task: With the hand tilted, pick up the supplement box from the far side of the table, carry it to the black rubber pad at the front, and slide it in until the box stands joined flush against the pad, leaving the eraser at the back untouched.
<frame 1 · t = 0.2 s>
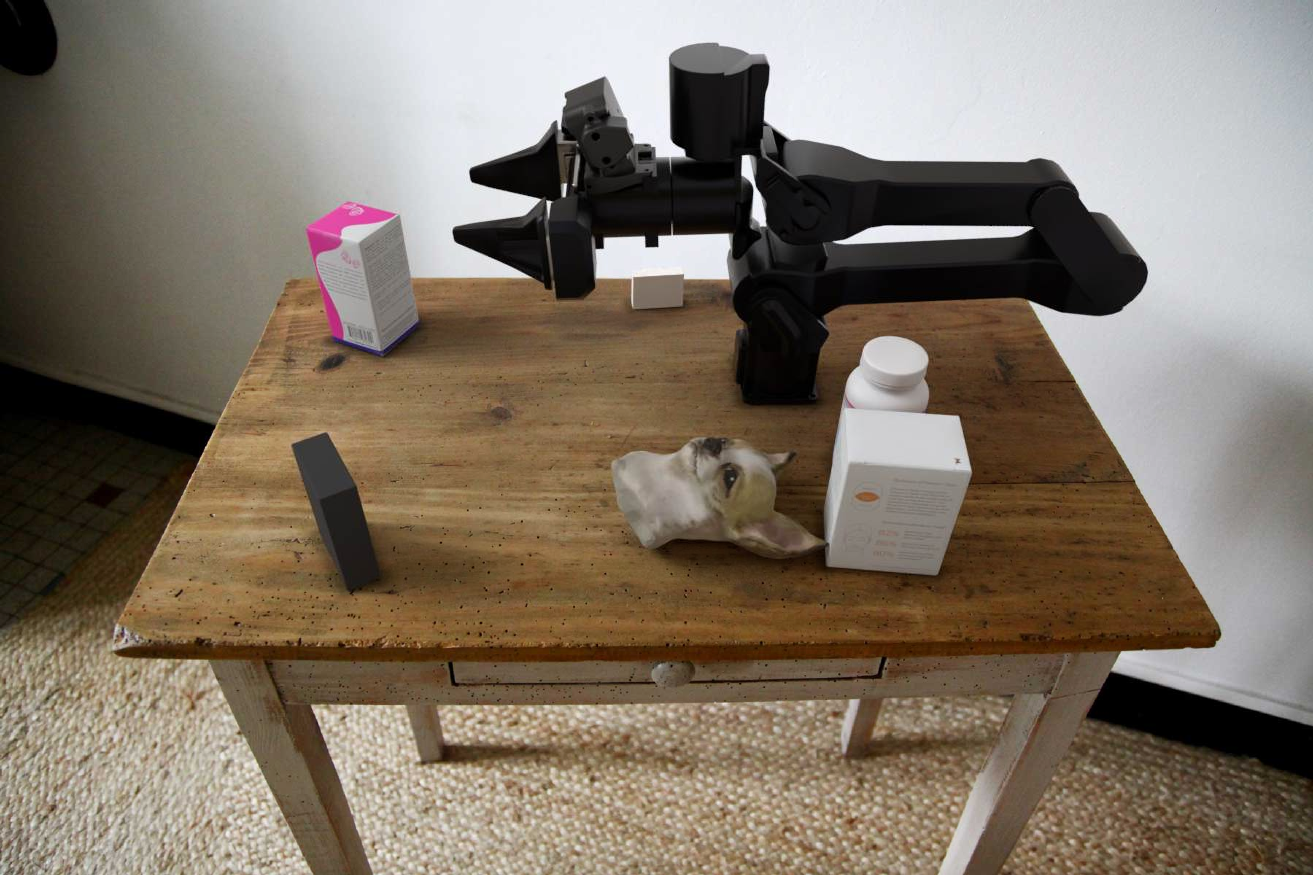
hand: (462, 203, 69), 17 cm above the table, tool horizontal, fingers open, 9 cm apart
pill bottle: (868, 469, 74), on the table
supplement box: (377, 334, 85), on the table
ceramic sculpture: (711, 527, 69), on the table
eraser: (656, 306, 90), on the table
black rubber pad: (350, 556, 65), on the table
small box: (877, 545, 68), on the table
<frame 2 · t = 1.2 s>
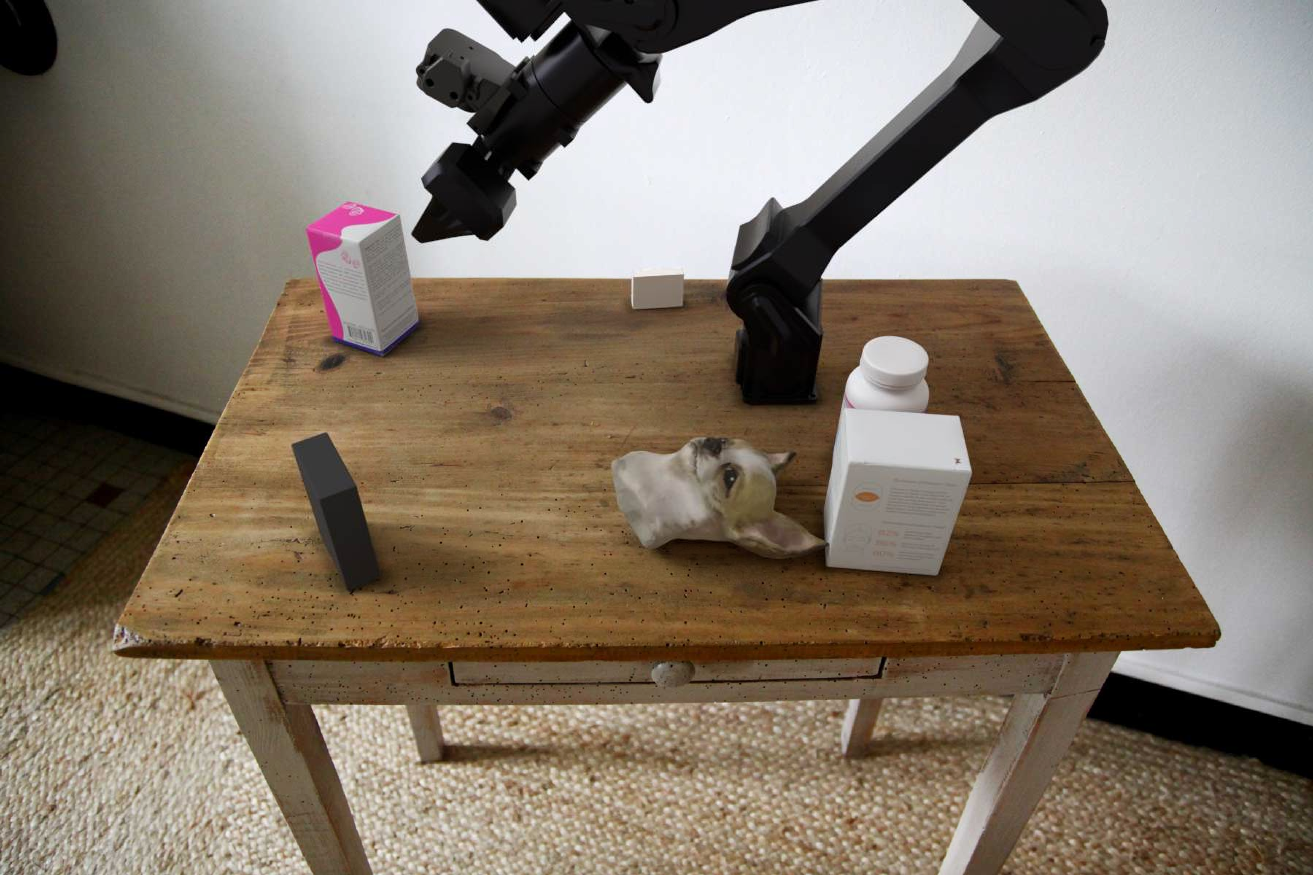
hand: (436, 210, 76), 13 cm above the table, tool tilted 45°, fingers open, 9 cm apart
nothing on the table moved.
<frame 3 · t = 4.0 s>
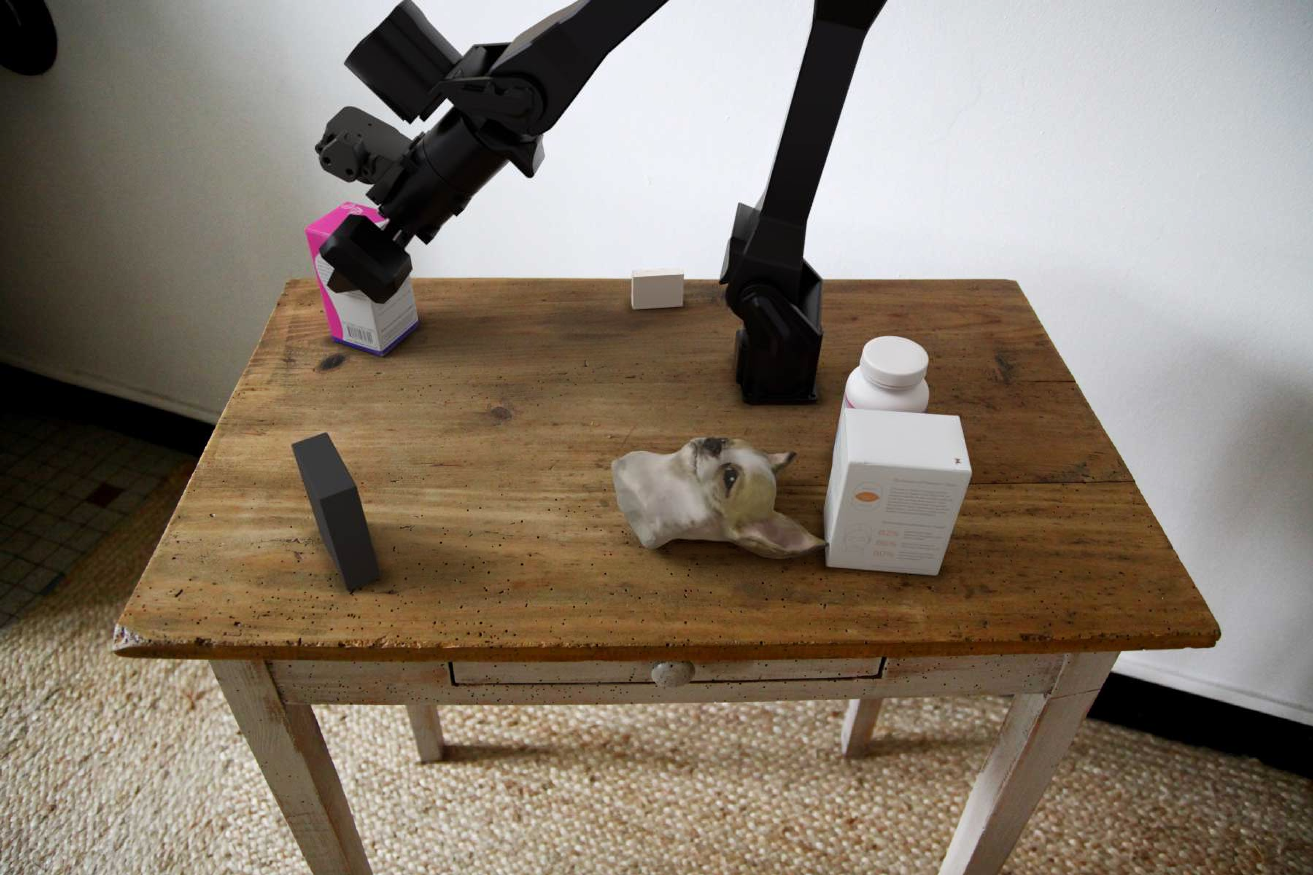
hand: (348, 267, 81), 7 cm above the table, tool tilted 45°, fingers closed on supplement box, 6 cm apart
supplement box: (377, 334, 85), on the table, touching gripper
everything else where it was.
when the fingers open (7 cm above the table, at t = 13.1 s): supplement box stays where it is, on the table.
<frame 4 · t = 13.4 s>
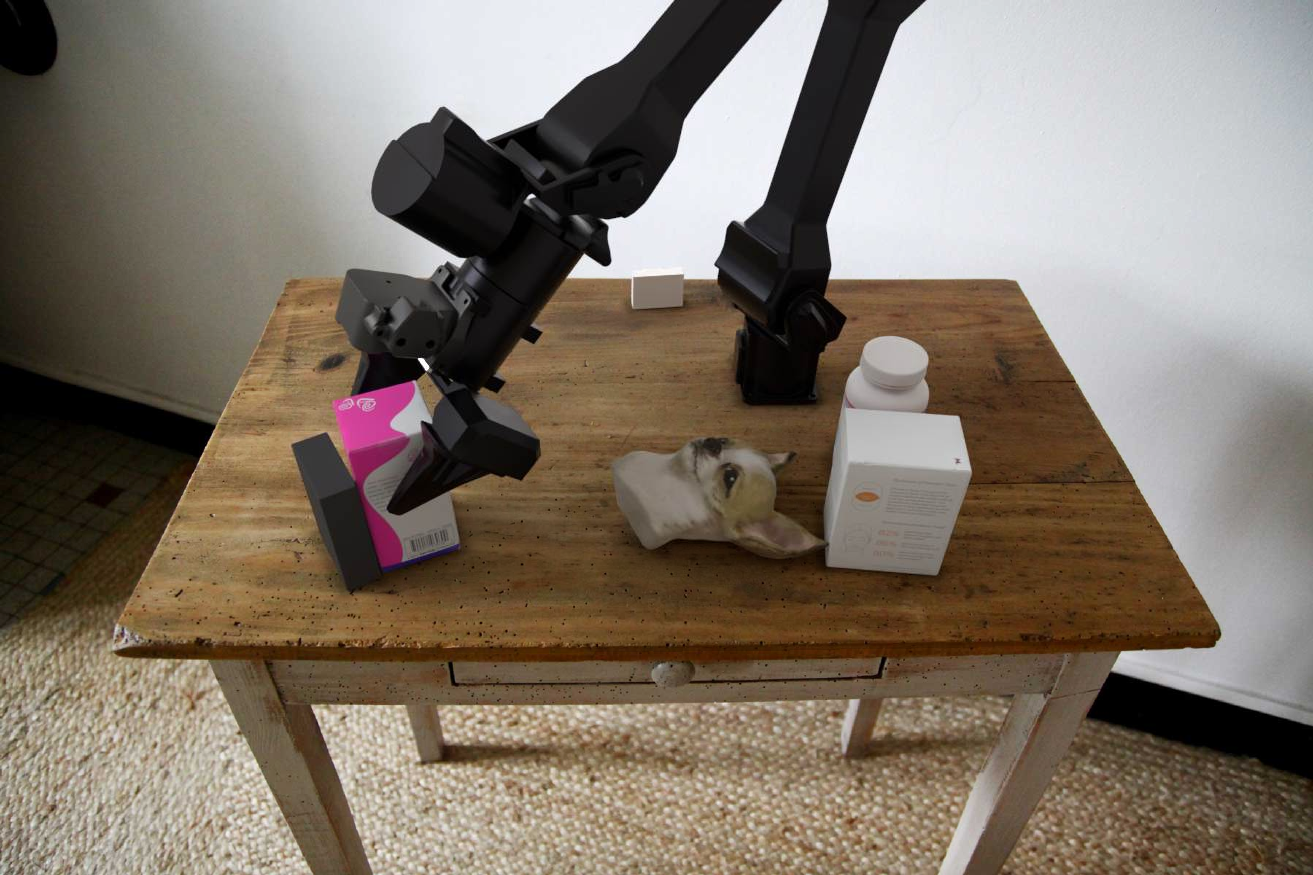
hand: (368, 471, 62), 7 cm above the table, tool tilted 45°, fingers open, 9 cm apart
supplement box: (412, 535, 67), on the table
everything else where it was.
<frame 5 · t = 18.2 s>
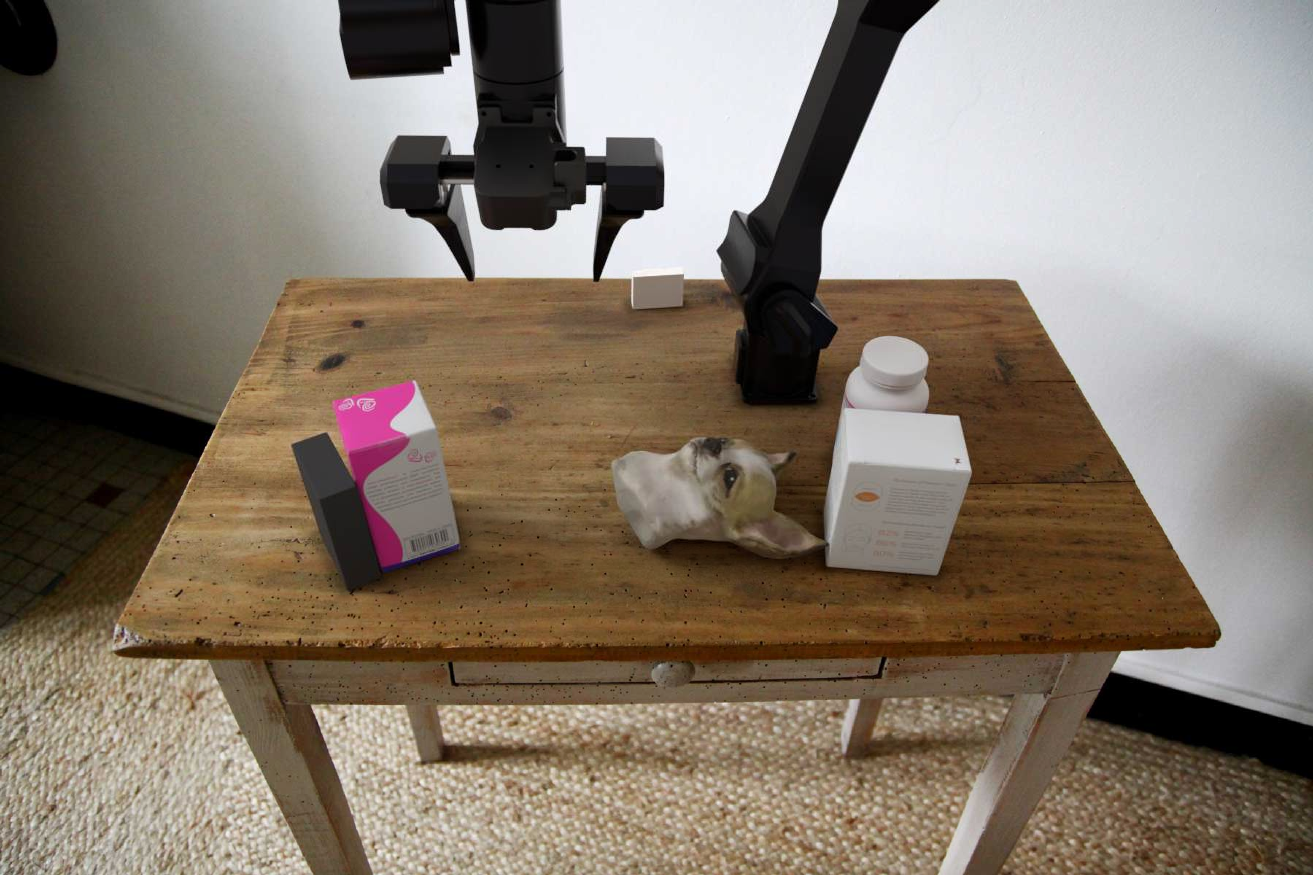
hand: (534, 279, 69), 13 cm above the table, tool pointing down, fingers open, 9 cm apart
nothing on the table moved.
at the end: supplement box 4.5 cm from the black rubber pad (horizontally); supplement box tilted 0°; eraser moved 0.2 cm from its start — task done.
